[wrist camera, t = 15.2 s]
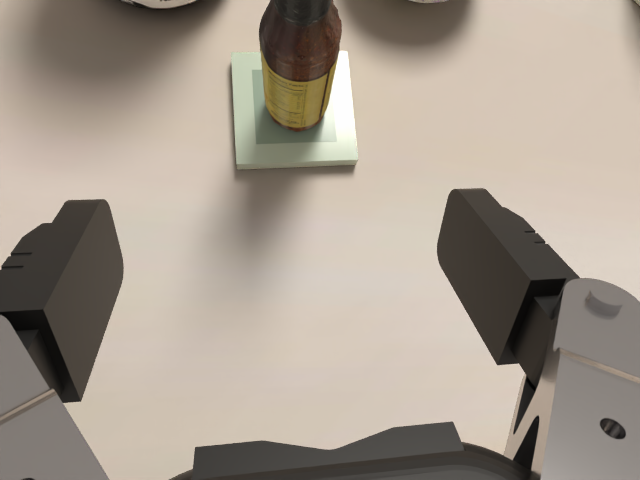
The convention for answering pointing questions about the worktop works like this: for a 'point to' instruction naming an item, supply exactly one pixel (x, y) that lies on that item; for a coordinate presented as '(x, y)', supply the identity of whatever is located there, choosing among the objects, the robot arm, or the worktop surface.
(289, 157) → the trivet
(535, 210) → the worktop surface
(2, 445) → the robot arm
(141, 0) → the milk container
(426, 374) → the worktop surface
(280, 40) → the sauce bottle
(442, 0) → the paper bowls
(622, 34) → the worktop surface
